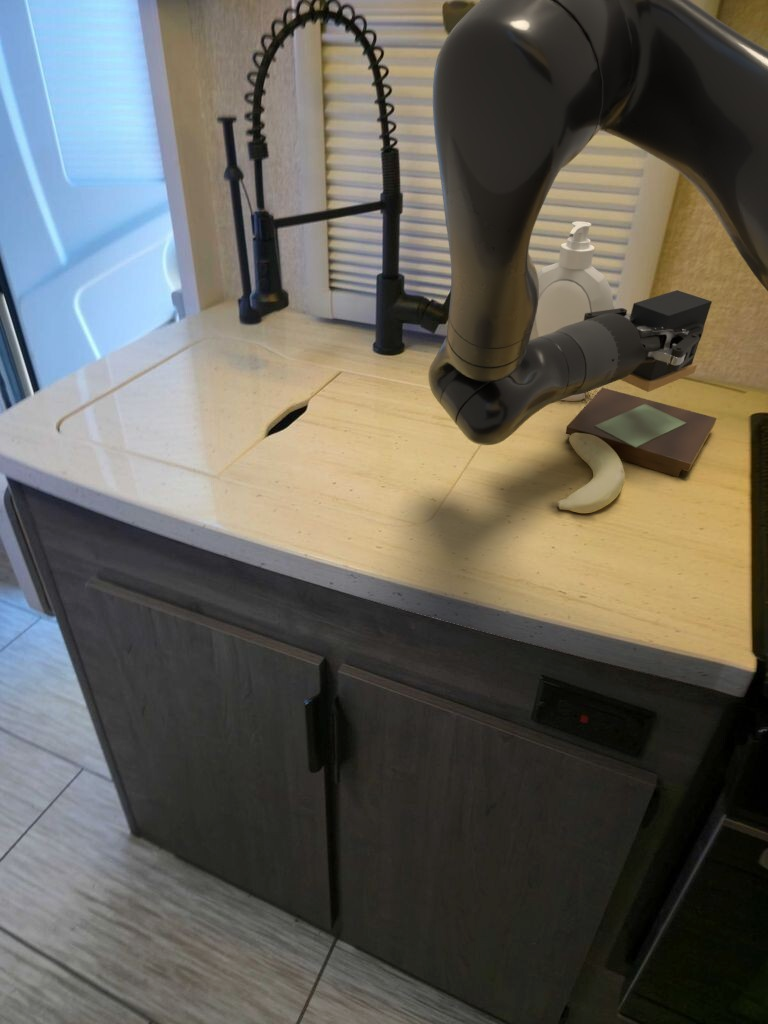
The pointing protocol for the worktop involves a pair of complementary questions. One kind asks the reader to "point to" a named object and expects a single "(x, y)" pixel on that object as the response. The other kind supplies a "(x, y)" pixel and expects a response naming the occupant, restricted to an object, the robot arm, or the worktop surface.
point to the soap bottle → (570, 288)
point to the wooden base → (644, 430)
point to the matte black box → (666, 314)
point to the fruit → (595, 475)
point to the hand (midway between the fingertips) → (678, 323)
